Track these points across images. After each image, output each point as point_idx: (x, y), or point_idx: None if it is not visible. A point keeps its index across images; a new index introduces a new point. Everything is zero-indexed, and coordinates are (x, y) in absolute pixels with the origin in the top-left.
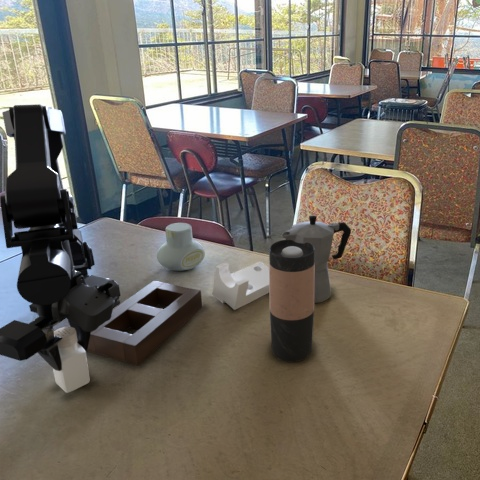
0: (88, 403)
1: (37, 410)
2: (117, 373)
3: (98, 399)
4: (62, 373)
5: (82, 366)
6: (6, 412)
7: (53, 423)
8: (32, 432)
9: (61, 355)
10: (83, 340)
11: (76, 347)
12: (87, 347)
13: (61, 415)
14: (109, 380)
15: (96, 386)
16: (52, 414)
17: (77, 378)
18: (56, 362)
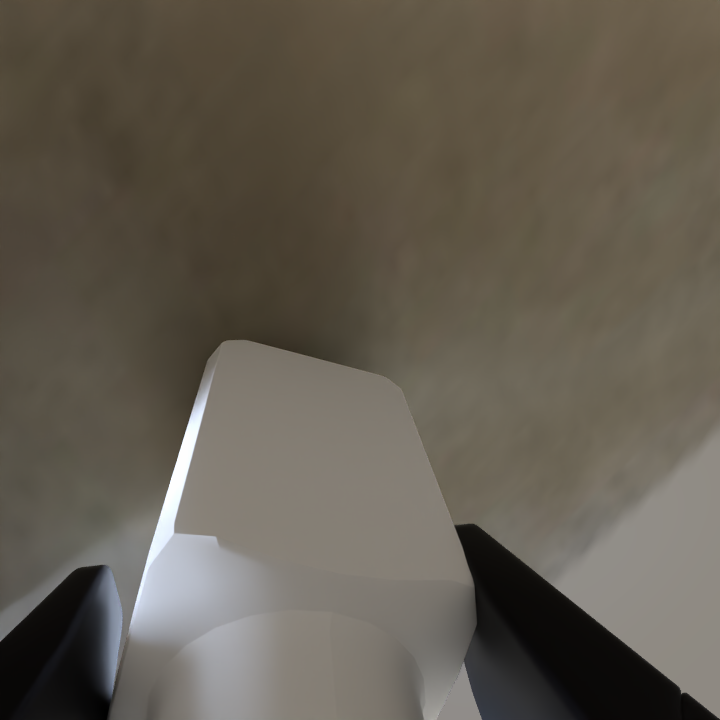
0: (388, 181)
1: (544, 425)
2: (4, 239)
3: (323, 141)
4: (439, 494)
5: (260, 431)
6: (595, 540)
7: (617, 251)
8: (703, 304)
9: (419, 672)
10: (48, 715)
11: (233, 665)
12: (57, 592)
13: (544, 263)
14: (109, 234)
15: (217, 274)
16: (550, 322)
17: (322, 393)
18: (586, 613)
